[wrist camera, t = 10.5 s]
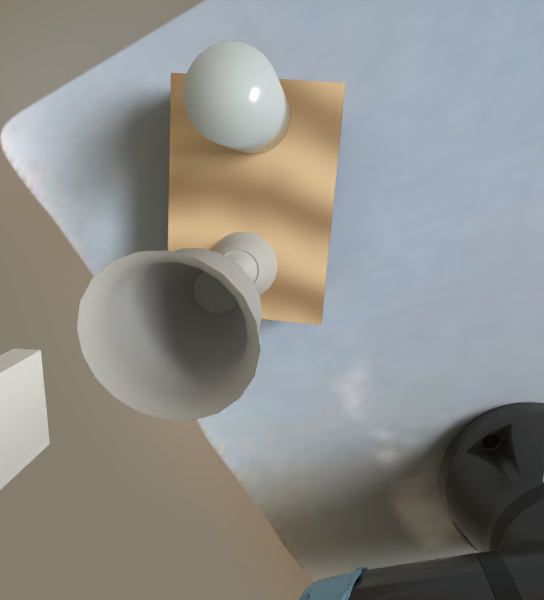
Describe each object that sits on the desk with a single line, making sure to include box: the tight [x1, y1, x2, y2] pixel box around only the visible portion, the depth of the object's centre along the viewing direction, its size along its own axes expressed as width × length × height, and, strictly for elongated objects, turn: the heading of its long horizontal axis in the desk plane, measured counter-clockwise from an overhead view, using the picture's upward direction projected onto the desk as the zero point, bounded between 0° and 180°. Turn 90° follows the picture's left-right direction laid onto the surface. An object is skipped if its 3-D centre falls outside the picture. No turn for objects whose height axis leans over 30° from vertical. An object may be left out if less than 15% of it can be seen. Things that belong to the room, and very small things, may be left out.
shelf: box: [168, 73, 346, 325], centre depth 38 cm, size 17×12×6 cm
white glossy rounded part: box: [184, 41, 291, 154], centre depth 29 cm, size 5×5×9 cm
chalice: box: [77, 231, 278, 420], centre depth 27 cm, size 7×7×18 cm
